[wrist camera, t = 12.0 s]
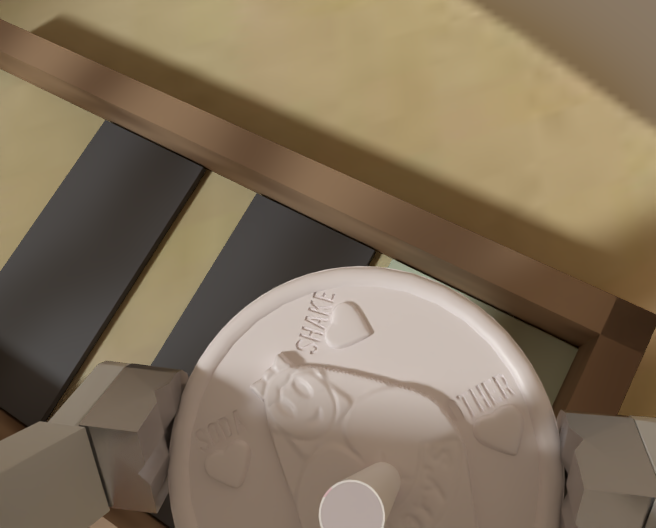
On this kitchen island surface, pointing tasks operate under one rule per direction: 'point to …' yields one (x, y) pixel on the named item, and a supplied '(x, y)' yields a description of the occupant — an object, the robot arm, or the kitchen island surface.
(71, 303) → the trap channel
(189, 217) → the kitchen island surface
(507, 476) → the smoothie
